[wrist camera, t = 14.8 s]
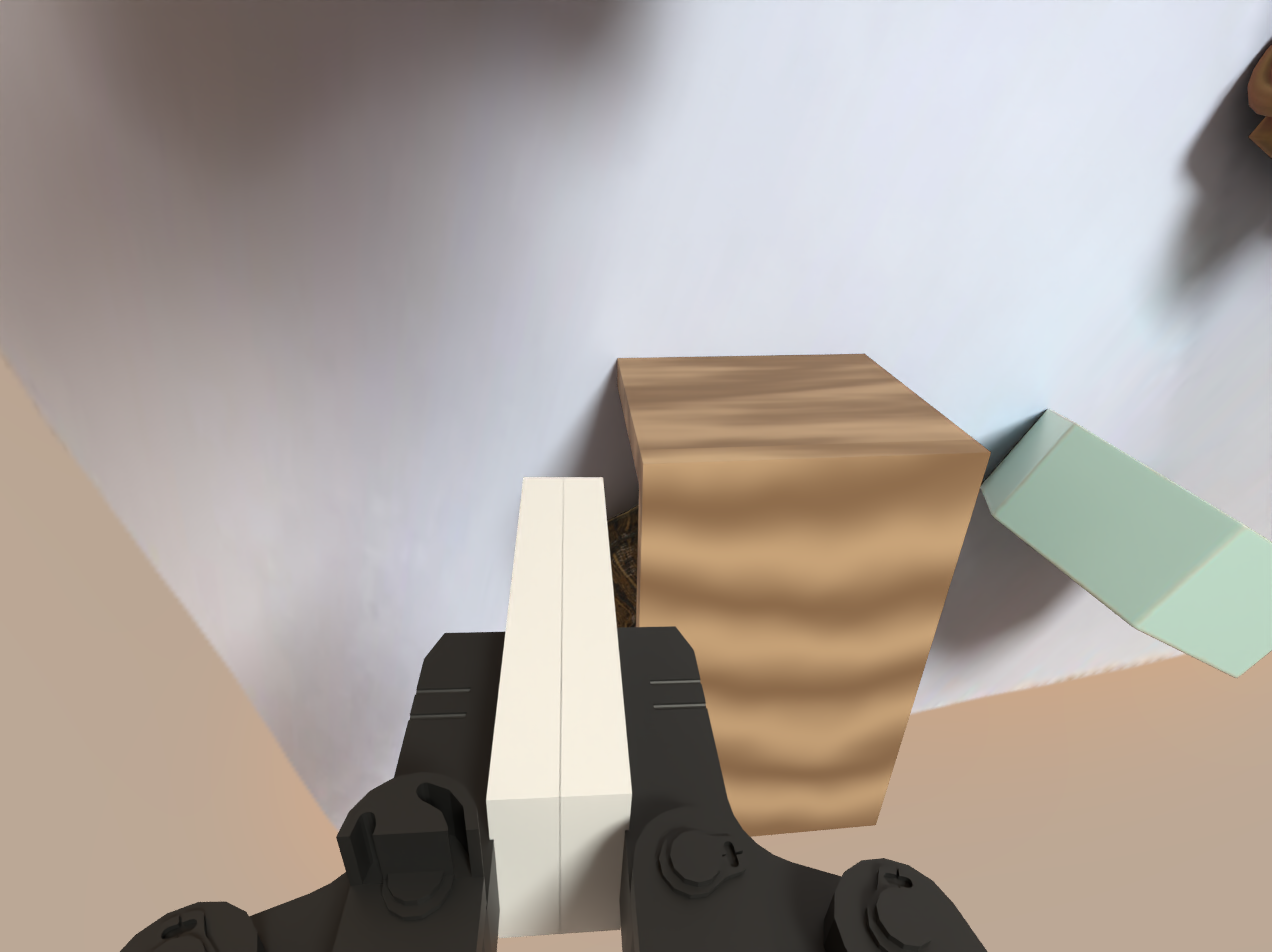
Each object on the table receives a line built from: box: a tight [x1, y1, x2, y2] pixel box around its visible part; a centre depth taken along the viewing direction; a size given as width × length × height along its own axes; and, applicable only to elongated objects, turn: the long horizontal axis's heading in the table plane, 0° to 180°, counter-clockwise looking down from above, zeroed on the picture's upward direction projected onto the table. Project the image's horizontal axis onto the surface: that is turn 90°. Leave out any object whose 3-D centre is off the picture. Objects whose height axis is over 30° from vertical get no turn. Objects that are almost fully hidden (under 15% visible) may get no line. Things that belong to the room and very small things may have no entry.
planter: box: [980, 409, 1272, 678], centre depth 45 cm, size 17×8×21 cm
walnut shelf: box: [617, 354, 991, 837], centre depth 46 cm, size 30×18×16 cm, turn 179°
